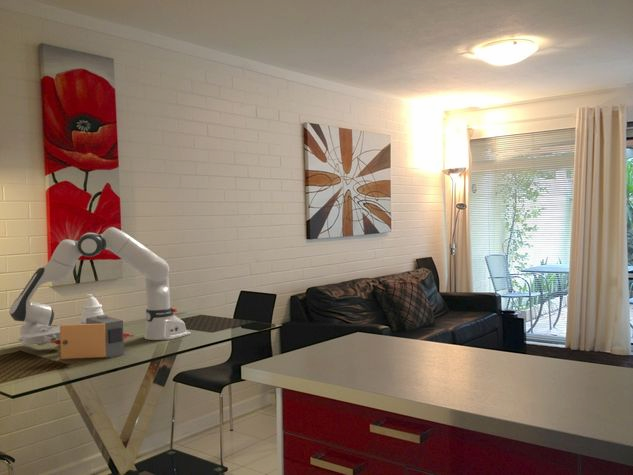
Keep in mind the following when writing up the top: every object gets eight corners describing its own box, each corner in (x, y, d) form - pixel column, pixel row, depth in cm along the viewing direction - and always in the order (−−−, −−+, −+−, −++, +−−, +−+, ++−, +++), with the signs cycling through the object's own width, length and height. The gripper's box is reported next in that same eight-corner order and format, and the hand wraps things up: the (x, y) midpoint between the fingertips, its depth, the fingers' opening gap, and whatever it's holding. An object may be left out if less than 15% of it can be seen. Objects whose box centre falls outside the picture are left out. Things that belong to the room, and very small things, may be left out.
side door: (62, 357, 253) (60, 324, 252) (106, 356, 254) (105, 323, 254) (60, 359, 250) (58, 326, 249) (104, 357, 252) (103, 324, 251)
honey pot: (97, 330, 315) (95, 296, 314) (75, 329, 317) (73, 295, 316) (110, 325, 327) (109, 292, 326) (89, 324, 330) (87, 292, 329)
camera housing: (104, 348, 273) (103, 313, 272) (125, 355, 260) (124, 318, 259) (87, 351, 267) (86, 315, 266) (107, 358, 254) (106, 321, 253)
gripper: (16, 331, 264) (28, 336, 254) (62, 324, 279) (75, 328, 269) (16, 346, 264) (29, 350, 255) (63, 338, 279) (76, 342, 269)
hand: (53, 339), depth 262 cm, fingers closed
